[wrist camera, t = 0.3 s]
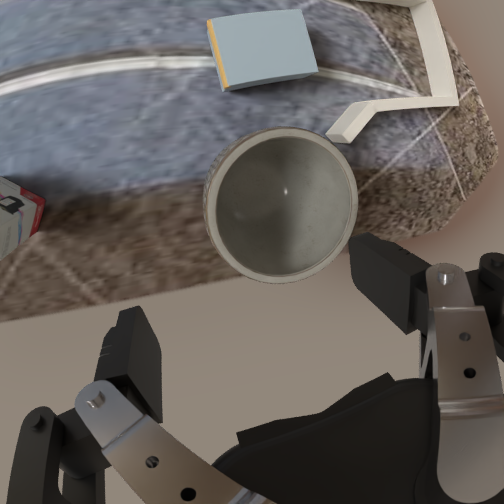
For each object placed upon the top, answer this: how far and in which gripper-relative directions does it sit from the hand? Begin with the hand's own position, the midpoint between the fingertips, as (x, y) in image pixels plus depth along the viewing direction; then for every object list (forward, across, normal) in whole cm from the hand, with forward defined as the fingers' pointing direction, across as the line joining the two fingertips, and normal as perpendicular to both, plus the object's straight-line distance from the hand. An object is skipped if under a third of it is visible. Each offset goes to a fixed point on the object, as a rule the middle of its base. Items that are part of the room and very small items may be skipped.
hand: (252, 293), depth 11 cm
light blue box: (+27, -10, -14) cm, 32 cm away
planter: (+27, -6, +2) cm, 28 cm away
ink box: (+27, +24, -6) cm, 37 cm away
